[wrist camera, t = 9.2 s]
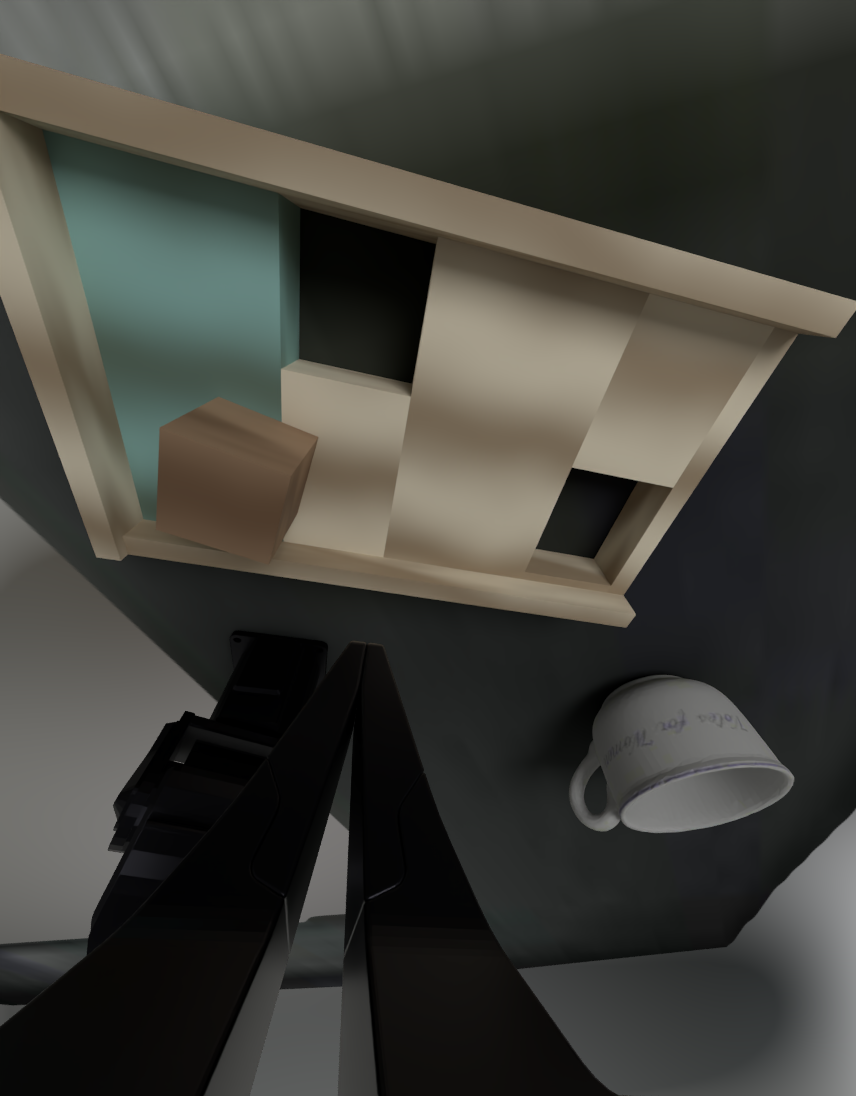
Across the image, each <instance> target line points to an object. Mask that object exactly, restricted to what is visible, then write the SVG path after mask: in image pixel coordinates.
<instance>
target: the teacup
mask: <svg viewBox="0 0 856 1096" xmlns="http://www.w3.org/2000/svg"><path fill="white" fill-rule="evenodd" d="M592 735H593V741H592V742H591V743H590V745H589V751H588V754H587V755H586V757H585V758H584V759H583V760H582V762H581V763H580V765H579V766H578V768H577V769H576V771H575V773H574V775H573V777H572V779H571V782H570V787H569V800H570V803H571V807H572V809H573V811H574V813H575V814H576V816H577V817H578V819H579V820H580V821H581V822H582V823H583V824H584V825H586V826H587V827H589V828H591V829H594V830H597V831H607V830H610V829H612V828H613V827H615V826H616V825H617V824H618V822H619V821H620V819H621V820H622V822H623V823H624V824H625V825H626V826H628V827H629V828H632V829H634V830H639V831H643V832H652V833H665V832H681V831H688V830H694V829H701V828H707V827H711V826H716V825H720V824H723V823H727V822H730V821H734V820H737V819H739V818H742V817H745V816H748V815H749V814H752V813H755V812H757V811H760V810H762V809H763V808H765V807H767V806H769V805H771V804H773V803H775V802H776V801H778V800H779V799H781V798H782V797H783V796H784V795H785V794H786V793H788V792H789V790H790V788H791V787H792V785H793V781H794V776H793V775H792V773H791V772H790V771H789V770H788V769H787V768H786V767H785V766H783V765H782V764H781V763H780V762H779V760H778V759H777V758H776V756H775V755H774V754H773V752H772V751H771V750H770V749H769V747H768V746H767V745H766V743H765V742H764V741H763V739H762V738H761V737H760V736H759V734H758V733H757V732H756V731H755V729H754V728H753V727H752V725H751V724H750V723H749V722H748V720H747V719H746V718H745V717H744V716H743V714H742V713H741V712H740V711H739V710H738V709H737V707H736V706H735V705H734V704H733V703H732V702H731V701H730V700H729V699H728V698H727V697H726V696H725V695H723V694H722V693H721V692H720V691H718V690H717V689H715V688H713V687H712V686H710V685H708V684H705V683H702V682H699V681H696V680H691V679H684V678H681V677H678V676H672V675H653V676H647V677H643V678H639V679H636V680H633V681H631V682H628V683H626V684H624V685H622V686H620V687H619V688H617V689H616V690H614V691H613V692H612V693H611V694H610V695H609V696H608V697H607V698H606V699H605V701H604V703H603V704H602V707H601V709H600V710H599V712H598V714H597V715H596V717H595V720H594V723H593V728H592ZM600 765H601V767H602V770H603V773H604V775H605V778H606V780H607V782H608V784H607V787H606V789H607V805H606V808H605V810H604V811H603V812H602V813H600V814H597V815H595V814H592V813H591V812H590V811H589V810H588V809H587V807H586V805H585V802H584V790H585V787H586V784H587V782H588V780H589V778H590V777H591V775H592V774H593V772H594V771H595V770H596V769H597V768H598V767H599V766H600Z"/></svg>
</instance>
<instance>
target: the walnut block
mask: <svg viewBox="0 0 856 1096" xmlns="http://www.w3.org/2000/svg"><path fill="white" fill-rule="evenodd" d="M318 438H319V437H317V436H315V435H312V434H310V433H307V432H305V431H302V430H300V429H297V428H295V427H293V426H290V425H288V424H285V423H283V422H280V421H278V420H275V419H273V418H270V417H268V416H265V415H263V414H260V413H258V412H255V411H253V410H250V409H248V408H245V407H243V406H240V405H238V404H236V403H233V402H231V401H228V400H226V399H223V398H221V397H217V398H215V399H213V400H211V401H209V402H207V403H206V404H204V405H202V406H200V407H198V408H196V409H194V410H192V411H190V412H188V413H186V414H184V415H182V416H181V417H179V418H177V419H175V420H173V421H171V422H169V423H167V424H165V425H163V426H161V427H160V428H159V457H158V486H157V514H156V530H158V531H162V532H165V533H168V534H171V535H175V536H178V537H181V538H184V539H187V540H191V541H194V542H197V543H200V544H204V545H207V546H210V547H213V548H216V549H220V550H223V551H226V552H229V553H232V554H236V555H239V556H242V557H245V558H249V559H252V560H255V561H258V562H261V563H265V564H268V565H269V563H270V562H271V560H272V558H273V556H274V554H275V553H276V551H277V549H278V547H279V546H280V544H281V542H282V540H283V538H284V537H285V535H286V533H287V531H288V530H289V528H290V526H291V524H292V522H293V521H294V519H295V517H296V515H297V513H298V510H299V506H300V503H301V499H302V495H303V492H304V488H305V485H306V481H307V477H308V474H309V470H310V467H311V463H312V459H313V456H314V452H315V448H316V445H317V441H318Z"/></svg>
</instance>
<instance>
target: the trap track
mask: <svg viewBox="0 0 856 1096" xmlns="http://www.w3.org/2000/svg"><path fill="white" fill-rule="evenodd" d="M300 208H303V209H307V210H310V211H314V212H318V213H322V214H325V215H329V216H333V217H337V218H340V219H344V220H348V221H351V222H355V223H359V224H363V225H366V226H370V227H374V228H378V229H381V230H385V231H389V232H393V233H396V234H400V235H404V236H408V237H411V238H415V239H419V240H423V241H426V242H430V243H434V244H436V248H435V254H434V260H433V266H432V271H431V277H430V283H429V289H428V295H427V301H426V307H425V312H424V318H423V324H422V330H421V336H420V342H419V348H418V354H417V359H416V365H415V371H414V377H413V383H412V384H411V383H406V382H402V381H397V380H393V379H388V378H384V377H379V376H374V375H370V374H365V373H361V372H356V371H352V370H347V369H342V368H338V367H333V366H329V365H324V364H319V363H315V362H310V361H306V360H301V359H299V303H300ZM0 295H1V298H2V301H3V304H4V306H5V309H6V312H7V315H8V317H9V320H10V323H11V325H12V328H13V331H14V334H15V336H16V339H17V342H18V345H19V347H20V350H21V353H22V356H23V358H24V361H25V364H26V366H27V369H28V372H29V375H30V377H31V380H32V383H33V386H34V388H35V391H36V394H37V396H38V399H39V402H40V405H41V407H42V410H43V413H44V416H45V418H46V421H47V424H48V426H49V429H50V432H51V435H52V437H53V440H54V443H55V446H56V448H57V451H58V454H59V457H60V459H61V462H62V465H63V467H64V470H65V473H66V476H67V478H68V481H69V484H70V487H71V489H72V492H73V495H74V497H75V500H76V503H77V506H78V508H79V511H80V514H81V517H82V519H83V522H84V525H85V528H86V530H87V533H88V536H89V538H90V541H91V544H92V547H93V549H94V552H95V555H96V557H98V558H105V559H112V560H119V561H121V560H122V559H123V558H124V557H126V556H127V555H128V554H129V555H136V556H143V557H150V558H157V559H163V560H170V561H177V562H184V563H191V564H197V565H204V566H211V567H218V568H225V569H231V570H238V571H245V572H252V573H259V574H265V575H272V576H279V577H286V578H293V579H299V580H306V581H313V582H320V583H327V584H333V585H340V586H347V587H354V588H361V589H368V590H374V591H381V592H388V593H395V594H402V595H408V596H415V597H422V598H429V599H436V600H442V601H449V602H456V603H463V604H470V605H476V606H483V607H490V608H497V609H504V610H510V611H517V612H524V613H531V614H538V615H544V616H551V617H558V618H565V619H572V620H578V621H585V622H592V623H599V624H606V625H612V626H619V627H626V628H627V626H628V625H629V623H630V622H631V621H632V619H633V618H634V616H635V615H636V614H635V612H634V611H633V609H632V608H631V606H630V605H629V603H628V602H627V600H626V599H625V597H624V596H623V595H624V594H625V592H626V591H627V589H628V588H629V586H630V585H631V583H632V582H633V580H634V579H635V577H636V576H637V574H638V573H639V571H640V570H641V568H642V567H643V565H644V564H645V562H646V561H647V559H648V558H649V556H650V555H651V553H652V552H653V550H654V549H655V547H656V546H657V544H658V543H659V541H660V540H661V538H662V537H663V535H664V534H665V532H666V531H667V529H668V528H669V526H670V525H671V523H672V522H673V520H674V519H675V517H676V516H677V514H678V513H679V511H680V510H681V508H682V507H683V505H684V504H685V502H686V501H687V499H688V498H689V496H690V495H691V493H692V492H693V490H694V489H695V487H696V486H697V484H698V483H699V481H700V480H701V478H702V477H703V475H704V474H705V472H706V471H707V469H708V468H709V467H710V465H711V464H712V462H713V461H714V459H715V458H716V456H717V455H718V453H719V452H720V450H721V449H722V447H723V446H724V444H725V443H726V441H727V440H728V438H729V437H730V435H731V434H732V432H733V431H734V429H735V428H736V426H737V425H738V423H739V422H740V420H741V419H742V417H743V416H744V414H745V413H746V411H747V410H748V408H749V407H750V405H751V404H752V402H753V401H754V399H755V398H756V396H757V395H758V393H759V392H760V390H761V389H762V387H763V386H764V384H765V383H766V381H767V380H768V378H769V377H770V375H771V374H772V372H773V371H774V369H775V368H776V366H777V365H778V363H779V362H780V360H781V359H782V357H783V356H784V354H785V353H786V351H787V350H788V348H789V347H790V345H791V344H792V342H793V341H794V339H795V338H796V336H797V335H798V334H806V335H815V336H824V337H832V338H836V337H837V335H838V334H839V333H840V331H841V330H842V328H843V327H844V326H845V324H846V323H847V322H848V320H849V319H850V317H851V316H852V315H853V313H854V312H855V310H856V301H854V300H850V299H847V298H843V297H840V296H836V295H833V294H829V293H826V292H822V291H819V290H815V289H812V288H809V287H805V286H802V285H798V284H795V283H791V282H788V281H784V280H781V279H777V278H774V277H771V276H767V275H764V274H760V273H757V272H753V271H750V270H746V269H743V268H739V267H736V266H732V265H729V264H726V263H722V262H719V261H715V260H712V259H708V258H705V257H701V256H698V255H694V254H691V253H688V252H684V251H681V250H677V249H674V248H670V247H667V246H663V245H660V244H656V243H653V242H649V241H646V240H643V239H639V238H636V237H632V236H629V235H625V234H622V233H618V232H615V231H611V230H608V229H605V228H601V227H598V226H594V225H591V224H587V223H584V222H580V221H577V220H573V219H570V218H566V217H563V216H560V215H556V214H553V213H549V212H546V211H542V210H539V209H535V208H532V207H528V206H525V205H522V204H518V203H515V202H511V201H508V200H504V199H501V198H497V197H494V196H490V195H487V194H483V193H480V192H477V191H473V190H470V189H466V188H463V187H459V186H456V185H452V184H449V183H445V182H442V181H438V180H435V179H432V178H428V177H425V176H421V175H418V174H414V173H411V172H407V171H404V170H400V169H397V168H394V167H390V166H387V165H383V164H380V163H376V162H373V161H369V160H366V159H362V158H359V157H355V156H352V155H349V154H345V153H342V152H338V151H335V150H331V149H328V148H324V147H321V146H317V145H314V144H311V143H307V142H304V141H300V140H297V139H293V138H290V137H286V136H283V135H279V134H276V133H272V132H269V131H266V130H262V129H259V128H255V127H252V126H248V125H245V124H241V123H238V122H234V121H231V120H228V119H224V118H221V117H217V116H214V115H210V114H207V113H203V112H200V111H196V110H193V109H189V108H186V107H183V106H179V105H176V104H172V103H169V102H165V101H162V100H158V99H155V98H151V97H148V96H145V95H141V94H138V93H134V92H131V91H127V90H124V89H120V88H117V87H113V86H110V85H106V84H103V83H100V82H96V81H93V80H89V79H86V78H82V77H79V76H75V75H72V74H68V73H65V72H62V71H58V70H55V69H51V68H48V67H44V66H41V65H37V64H34V63H30V62H27V61H23V60H20V59H17V58H13V57H10V56H6V55H3V54H0ZM217 397H221V398H223V399H226V400H228V401H231V402H233V403H236V404H238V405H240V406H243V407H245V408H248V409H250V410H253V411H255V412H258V413H260V414H263V415H265V416H268V417H270V418H273V419H275V420H278V421H280V422H283V423H285V424H288V425H290V426H293V427H295V428H297V429H300V430H302V431H305V432H307V433H310V434H312V435H315V436H317V437H319V438H318V441H317V445H316V448H315V452H314V456H313V459H312V463H311V467H310V470H309V474H308V477H307V481H306V485H305V488H304V492H303V495H302V499H301V503H300V506H299V510H298V513H297V515H296V517H295V519H294V521H293V522H292V524H291V526H290V528H289V530H288V531H287V533H286V535H285V537H284V538H283V540H282V542H281V544H280V546H279V547H278V549H277V551H276V553H275V554H274V556H273V558H272V560H271V562H270V563H269V565H268V564H265V563H261V562H258V561H255V560H252V559H249V558H245V557H242V556H239V555H236V554H232V553H229V552H226V551H223V550H220V549H216V548H213V547H210V546H207V545H204V544H200V543H197V542H194V541H191V540H187V539H184V538H181V537H178V536H175V535H171V534H168V533H165V532H162V531H158V530H156V514H157V486H158V457H159V428H160V427H161V426H163V425H165V424H167V423H169V422H171V421H173V420H175V419H177V418H179V417H181V416H182V415H184V414H186V413H188V412H190V411H192V410H194V409H196V408H198V407H200V406H202V405H204V404H206V403H207V402H209V401H211V400H213V399H215V398H217ZM571 468H577V469H582V470H587V471H592V472H597V473H602V474H607V475H612V476H617V477H622V478H627V479H632V480H637V481H638V482H637V484H636V486H635V488H634V489H633V491H632V493H631V495H630V496H629V498H628V500H627V502H626V503H625V505H624V507H623V509H622V511H621V512H620V514H619V516H618V518H617V519H616V521H615V523H614V525H613V526H612V528H611V530H610V532H609V533H608V535H607V537H606V539H605V540H604V542H603V544H602V546H601V548H600V549H599V551H598V553H597V555H596V556H595V558H594V559H592V558H586V557H580V556H574V555H568V554H562V553H556V552H550V551H544V550H539V549H535V548H536V546H537V544H538V542H539V539H540V537H541V535H542V533H543V530H544V528H545V526H546V524H547V521H548V519H549V517H550V515H551V513H552V510H553V508H554V506H555V504H556V501H557V499H558V497H559V495H560V492H561V490H562V488H563V486H564V484H565V481H566V479H567V477H568V475H569V472H570V470H571Z"/></svg>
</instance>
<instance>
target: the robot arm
mask: <svg viewBox="0 0 856 1096" xmlns="http://www.w3.org/2000/svg"><path fill="white" fill-rule="evenodd" d="M230 645H231V653H232V660H233V667H234V671H233V673H232V675H231V677H230V679H229V681H228V683H227V685H226V687H225V689H224V691H223V693H222V695H221V697H220V699H219V701H218V703H217V705H216V707H215V709H214V711H213V713H212V715H211V717H210V719H206V718H203V717H199V716H195V714H194V713H192V712H188V711H185V712H184V714H183V716H182V717H181V719H180V721H177V722H173V723H166V724H165V726H164V728H163V730H162V731H161V733H160V735H159V736H158V738H157V740H156V741H155V743H154V745H153V746H152V748H151V750H150V751H149V753H148V754H147V756H146V757H145V758H144V760H143V761H142V763H141V764H140V765H139V767H138V768H137V770H136V771H135V773H134V774H133V775H132V777H131V778H130V780H129V781H128V782H127V784H126V785H125V787H124V788H123V789H122V791H121V792H120V794H119V795H118V797H117V799H116V801H115V802H114V805H113V807H114V811H115V814H116V817H117V822H116V824H115V826H114V829H113V830H114V831H116V833H115V834H114V836H113V838H112V841H111V843H110V845H109V848H108V851H113V852H119V853H121V852H122V853H124V854H123V856H122V858H121V860H120V862H119V864H118V866H117V868H116V870H115V872H114V874H113V876H112V878H111V880H110V882H109V884H108V886H107V888H106V890H105V891H104V893H103V895H102V897H101V899H100V901H99V903H98V905H97V907H96V909H95V911H94V914H93V916H92V921H91V932H90V934H89V938H88V947H87V956H86V957H84V958H83V959H82V960H81V961H80V962H78V963H77V964H76V965H75V966H73V967H72V968H71V969H70V970H69V971H67V972H66V973H65V974H64V975H62V976H61V977H60V978H59V979H58V980H56V981H55V982H54V983H53V984H51V985H50V986H49V987H48V988H47V989H45V990H44V991H43V992H42V993H40V994H39V995H38V996H37V997H36V998H34V999H33V1000H32V1001H31V1002H29V1003H28V1004H27V1005H26V1006H25V1007H23V1008H22V1009H21V1010H20V1011H18V1012H17V1013H16V1014H15V1015H14V1016H12V1017H11V1018H10V1019H9V1020H8V1021H6V1022H5V1023H4V1024H3V1025H2V1026H0V1096H249V1095H250V1092H251V1089H252V1085H253V1081H254V1078H255V1074H256V1071H257V1067H258V1063H259V1060H260V1057H261V1053H262V1050H263V1046H264V1043H265V1039H266V1036H267V1032H268V1028H269V1025H270V1021H271V1018H272V1014H273V1011H274V1007H275V1004H276V1000H277V997H278V993H279V990H280V986H281V983H282V979H283V976H284V972H285V969H286V965H287V962H288V955H289V954H290V951H291V947H292V944H293V940H294V937H295V933H296V930H297V926H298V923H299V919H300V915H301V912H302V908H303V905H304V901H305V898H306V894H307V891H308V887H309V884H310V880H311V876H312V873H313V870H314V866H315V863H316V859H317V856H318V852H319V848H320V845H321V841H322V838H323V834H324V831H325V827H326V824H327V820H328V816H329V813H330V810H331V806H332V803H333V799H334V796H335V792H336V788H337V785H338V781H339V778H340V774H341V771H342V767H343V764H344V760H345V757H346V753H347V750H348V746H349V743H350V739H351V735H352V731H353V727H354V733H353V753H352V776H351V799H350V823H349V846H348V869H347V871H348V872H347V893H346V916H345V939H344V956H345V957H344V962H343V985H342V1010H341V1032H340V1055H339V1081H338V1096H624V1095H617V1094H615V1093H614V1092H612V1091H610V1090H609V1089H608V1088H606V1087H605V1086H604V1085H603V1084H602V1083H601V1082H600V1081H599V1080H598V1079H597V1078H595V1076H594V1075H593V1074H592V1073H591V1071H590V1070H589V1069H588V1068H587V1067H586V1065H585V1064H584V1063H583V1062H582V1060H581V1059H580V1058H579V1056H578V1055H577V1053H576V1052H575V1050H574V1049H573V1048H572V1046H571V1045H570V1043H569V1042H568V1041H567V1039H566V1038H565V1036H564V1035H563V1034H562V1033H561V1031H560V1029H559V1028H558V1027H557V1025H556V1024H555V1022H554V1021H553V1020H552V1018H551V1017H550V1016H549V1014H548V1013H547V1011H546V1010H545V1008H544V1007H543V1006H542V1004H541V1003H540V1002H539V1000H538V998H537V997H536V996H535V994H534V993H533V991H532V990H531V989H530V987H529V986H528V985H527V983H526V982H525V980H524V979H523V978H522V976H521V975H520V973H519V972H518V971H517V969H516V968H515V966H514V965H513V963H512V962H511V961H510V959H509V958H508V956H507V955H506V954H505V952H504V951H503V949H502V947H501V946H500V944H499V942H498V941H497V939H496V937H495V935H494V934H493V932H492V930H491V928H490V926H489V924H488V922H487V920H486V918H485V916H484V914H483V912H482V910H481V908H480V906H479V904H478V901H477V899H476V897H475V895H474V892H473V890H472V888H471V886H470V884H469V881H468V879H467V877H466V875H465V873H464V870H463V868H462V866H461V864H460V861H459V859H458V857H457V855H456V853H455V850H454V848H453V846H452V844H451V841H450V839H449V837H448V834H447V832H446V829H445V827H444V825H443V822H442V820H441V817H440V815H439V812H438V810H437V807H436V804H435V801H434V798H433V795H432V793H431V790H430V787H429V784H428V781H427V778H426V774H425V773H423V771H424V769H423V766H422V763H421V759H420V756H419V753H418V750H417V747H416V744H415V741H414V738H413V735H412V732H411V729H410V725H409V722H408V719H407V716H406V713H405V710H404V707H403V704H402V701H401V698H400V695H399V691H398V688H397V685H396V682H395V679H394V676H393V673H392V670H391V667H390V664H389V661H388V657H387V654H386V651H385V648H384V646H383V645H381V644H375V643H369V644H366V643H365V642H359V641H351V642H350V643H349V644H348V646H347V647H346V648H345V650H344V651H343V652H342V654H341V655H340V657H339V658H338V659H337V661H336V662H335V663H334V665H333V666H332V668H331V669H330V670H329V672H328V673H327V675H326V665H327V652H328V645H327V644H326V643H325V642H322V641H316V640H308V639H300V638H293V637H285V636H277V635H269V634H261V633H253V632H246V631H234V632H233V633H232V635H231V636H230ZM366 647H367V648H366ZM365 653H366V654H365ZM364 660H365V661H364ZM363 666H364V667H363ZM362 672H363V673H362ZM361 678H362V679H361ZM359 691H360V692H359ZM358 697H359V698H358ZM357 703H358V704H357ZM356 709H357V710H356ZM355 715H356V717H355ZM354 721H355V724H354ZM174 761H178V762H182V763H184V764H182V763H178V762H174ZM625 1096H627V1095H625Z"/></svg>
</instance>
